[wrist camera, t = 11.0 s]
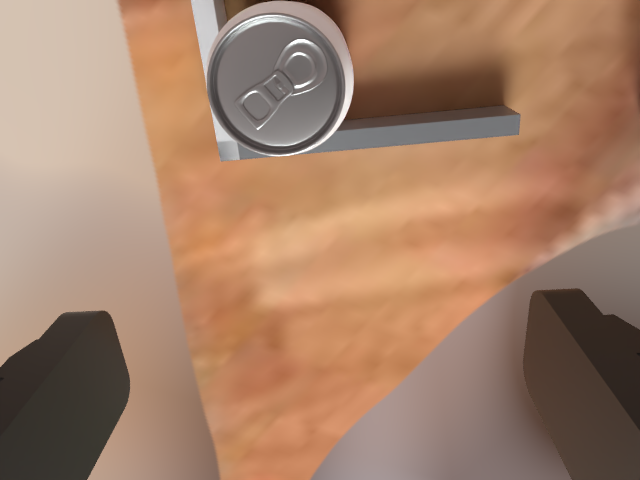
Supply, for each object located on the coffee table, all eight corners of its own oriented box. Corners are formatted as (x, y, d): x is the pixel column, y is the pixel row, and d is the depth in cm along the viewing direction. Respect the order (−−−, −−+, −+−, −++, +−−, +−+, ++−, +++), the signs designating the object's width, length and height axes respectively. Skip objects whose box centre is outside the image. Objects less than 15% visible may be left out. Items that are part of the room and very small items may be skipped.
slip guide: (513, -62, 28) (533, -69, 25) (503, 124, 32) (518, 134, 30) (198, -27, 29) (185, -30, 26) (229, 148, 33) (220, 161, 31)
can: (368, 66, 31) (388, 99, 20) (290, 133, 33) (271, 195, 22) (300, -24, 29) (281, -41, 18) (221, 52, 31) (162, 78, 20)
